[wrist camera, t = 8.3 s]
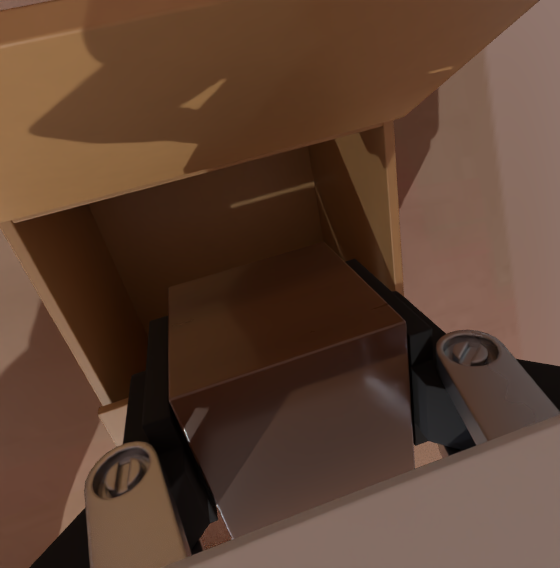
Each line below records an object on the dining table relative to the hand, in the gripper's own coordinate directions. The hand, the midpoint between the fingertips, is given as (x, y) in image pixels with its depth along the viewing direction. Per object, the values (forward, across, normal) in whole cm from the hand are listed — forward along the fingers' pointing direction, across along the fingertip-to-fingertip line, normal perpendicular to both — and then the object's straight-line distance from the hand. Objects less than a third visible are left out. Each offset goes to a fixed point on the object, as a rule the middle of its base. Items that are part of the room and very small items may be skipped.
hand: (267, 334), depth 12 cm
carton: (+13, 0, +3) cm, 13 cm away
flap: (0, 0, -6) cm, 6 cm away
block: (0, 0, 0) cm, 0 cm away
